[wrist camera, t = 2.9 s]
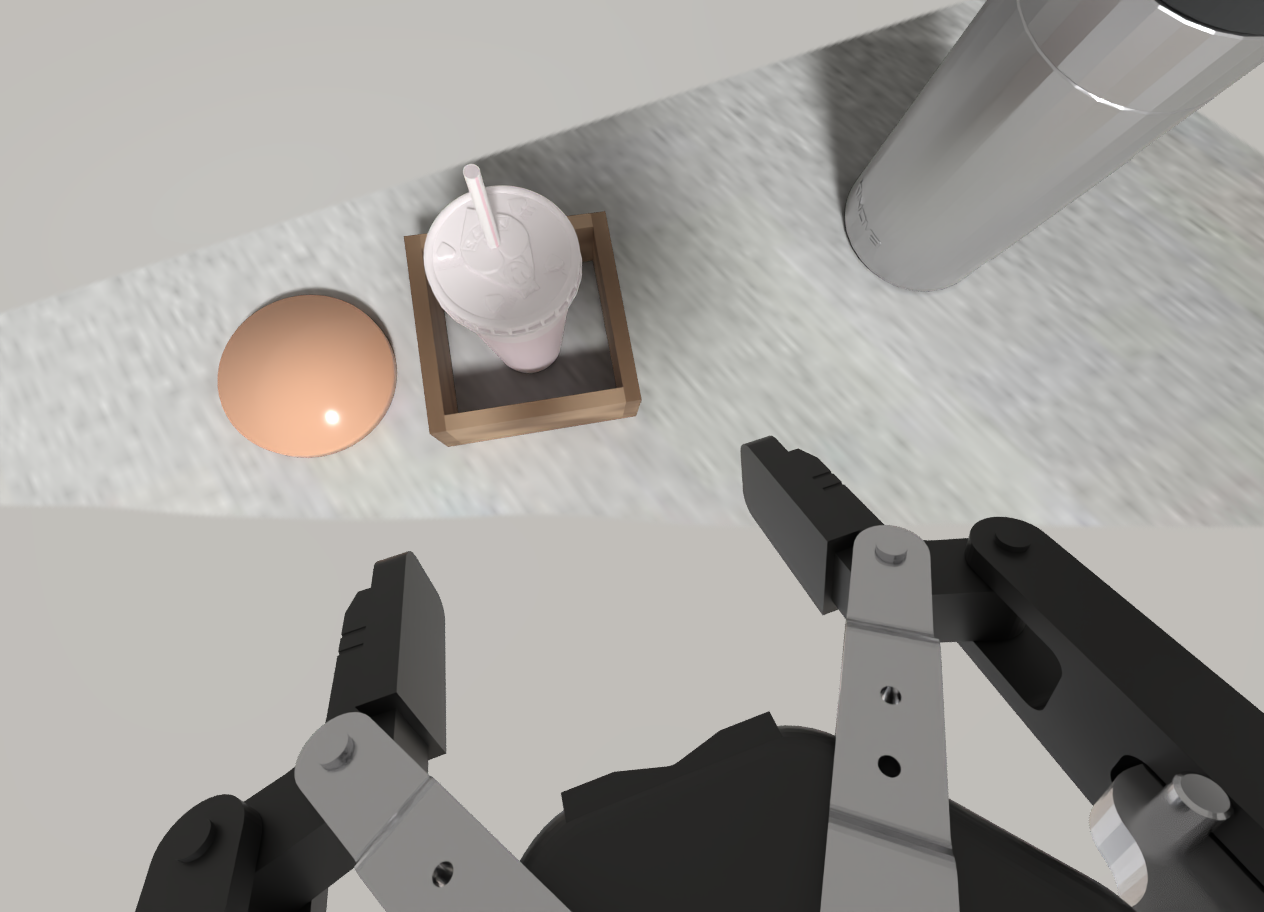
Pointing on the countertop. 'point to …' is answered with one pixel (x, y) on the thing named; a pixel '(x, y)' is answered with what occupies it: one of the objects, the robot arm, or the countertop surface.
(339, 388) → the peach glossy dome
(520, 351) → the smoothie
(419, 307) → the crate
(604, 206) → the countertop surface
